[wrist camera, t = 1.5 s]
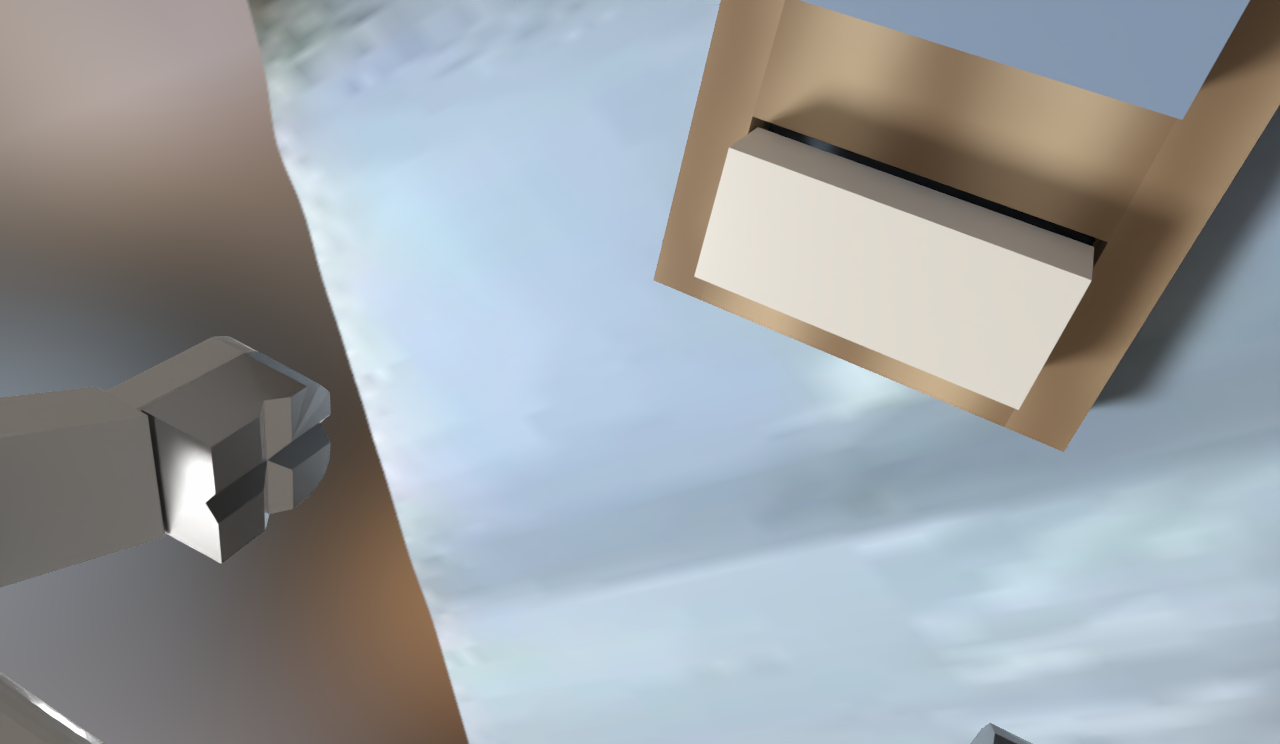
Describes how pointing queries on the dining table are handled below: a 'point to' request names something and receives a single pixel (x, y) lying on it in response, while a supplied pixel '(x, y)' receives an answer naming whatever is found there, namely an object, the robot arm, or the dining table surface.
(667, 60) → the dining table surface
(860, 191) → the ivory key
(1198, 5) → the blue-grey rectangular block
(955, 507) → the dining table surface
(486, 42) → the dining table surface
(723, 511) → the dining table surface
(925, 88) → the key console
